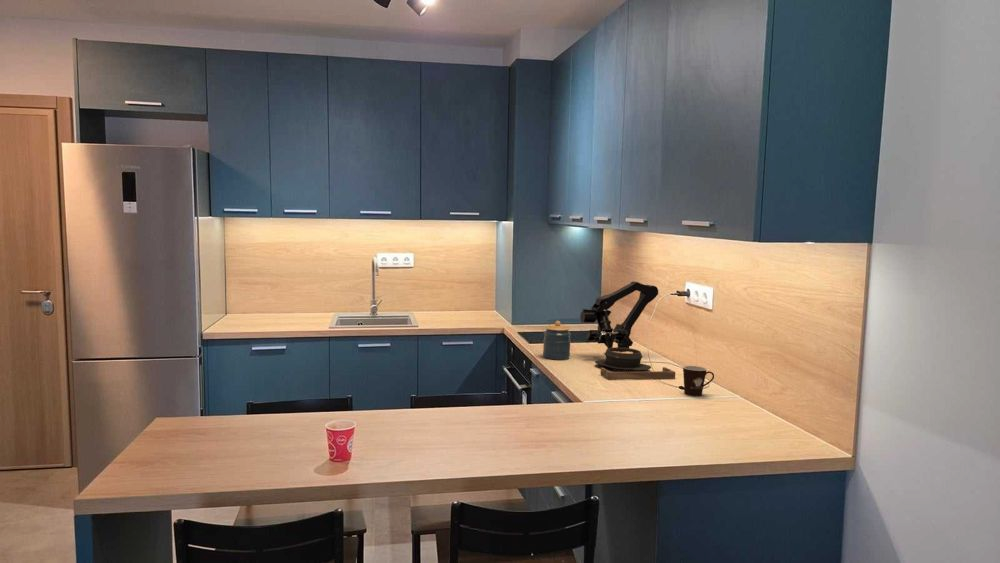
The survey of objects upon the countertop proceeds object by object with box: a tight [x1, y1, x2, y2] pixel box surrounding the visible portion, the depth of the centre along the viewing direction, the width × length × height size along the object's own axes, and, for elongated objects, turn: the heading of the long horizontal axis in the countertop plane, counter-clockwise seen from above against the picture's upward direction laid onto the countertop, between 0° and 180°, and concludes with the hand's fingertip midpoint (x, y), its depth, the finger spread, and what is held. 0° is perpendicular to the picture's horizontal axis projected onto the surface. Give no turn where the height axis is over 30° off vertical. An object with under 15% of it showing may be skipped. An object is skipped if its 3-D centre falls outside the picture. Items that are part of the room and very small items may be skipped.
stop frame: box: [599, 366, 676, 381], centre depth 272 cm, size 9×30×3 cm, turn 103°
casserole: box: [594, 346, 652, 372], centre depth 287 cm, size 25×19×8 cm
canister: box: [542, 320, 572, 361], centre depth 306 cm, size 13×13×18 cm
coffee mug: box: [682, 365, 715, 397], centre depth 246 cm, size 12×9×10 cm
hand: (611, 350), depth 299 cm, fingers closed
